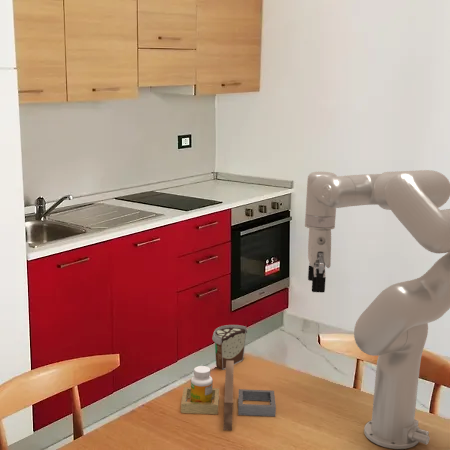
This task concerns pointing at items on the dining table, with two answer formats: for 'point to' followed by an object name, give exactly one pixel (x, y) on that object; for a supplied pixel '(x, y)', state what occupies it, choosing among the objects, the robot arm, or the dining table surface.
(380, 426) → the robot arm
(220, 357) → the food container
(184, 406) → the double square frame
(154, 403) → the dining table surface
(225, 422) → the brown wooden plank
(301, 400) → the dining table surface
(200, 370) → the supplement bottle
